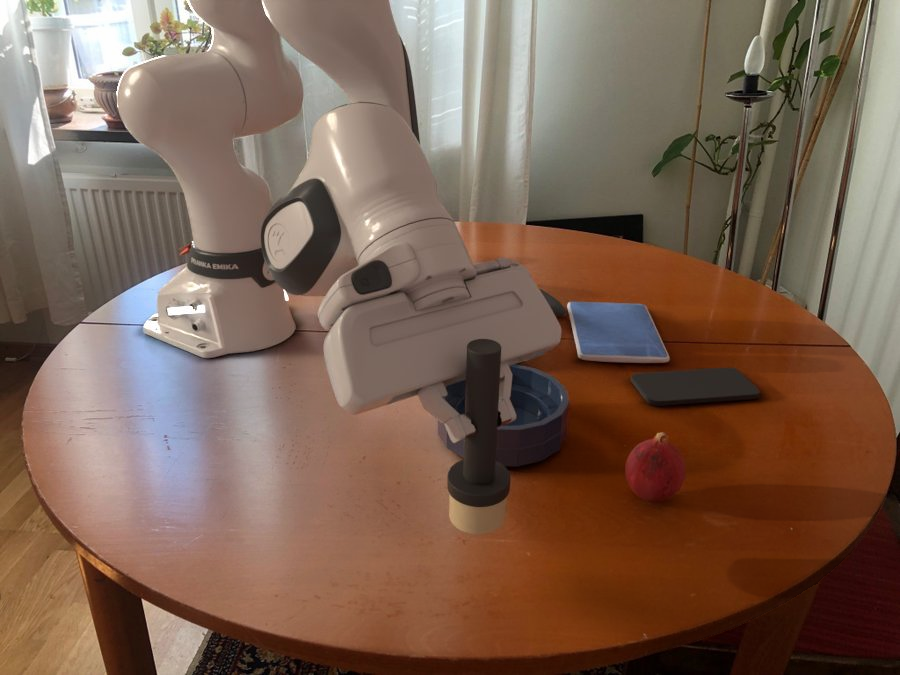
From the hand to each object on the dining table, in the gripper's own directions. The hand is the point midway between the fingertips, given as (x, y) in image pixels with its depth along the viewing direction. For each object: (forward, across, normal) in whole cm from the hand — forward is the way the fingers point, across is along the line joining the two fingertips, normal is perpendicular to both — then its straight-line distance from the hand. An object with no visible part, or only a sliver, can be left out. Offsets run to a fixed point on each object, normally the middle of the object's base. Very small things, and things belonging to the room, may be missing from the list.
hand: (485, 431), depth 58 cm
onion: (+12, -21, -11) cm, 26 cm away
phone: (+2, -42, -20) cm, 47 cm away
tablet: (-10, -46, -32) cm, 57 cm away
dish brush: (+6, 0, -7) cm, 9 cm away
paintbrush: (-22, -41, -45) cm, 65 cm away
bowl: (-1, -15, -23) cm, 28 cm away
